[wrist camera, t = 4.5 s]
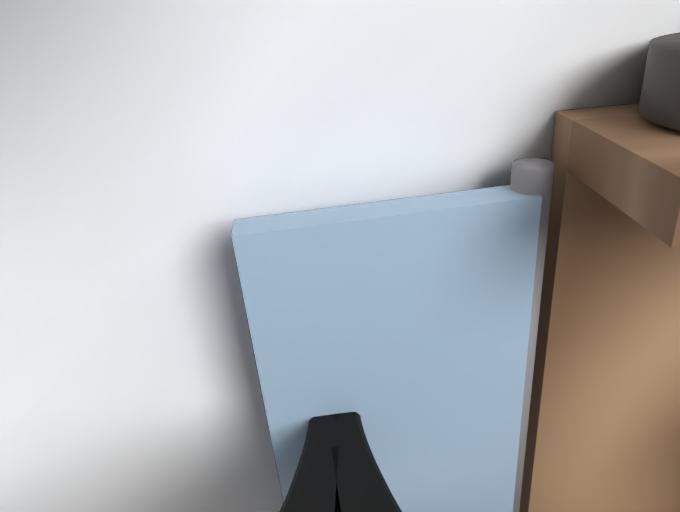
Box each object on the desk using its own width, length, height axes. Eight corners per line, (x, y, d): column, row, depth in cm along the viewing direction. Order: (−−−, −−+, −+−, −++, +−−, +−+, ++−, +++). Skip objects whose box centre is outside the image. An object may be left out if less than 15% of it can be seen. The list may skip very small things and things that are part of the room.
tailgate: (564, 169, 10) (226, 211, 10) (519, 572, 16) (304, 610, 15) (536, 152, 11) (230, 189, 11) (504, 535, 17) (301, 570, 16)
